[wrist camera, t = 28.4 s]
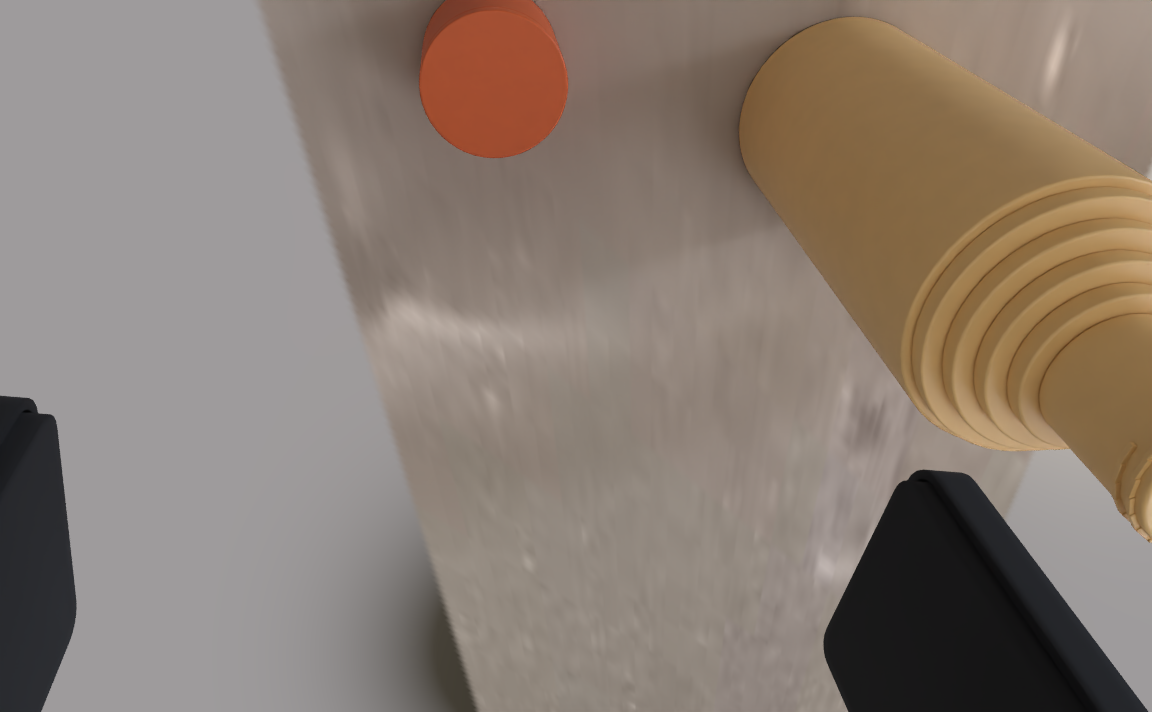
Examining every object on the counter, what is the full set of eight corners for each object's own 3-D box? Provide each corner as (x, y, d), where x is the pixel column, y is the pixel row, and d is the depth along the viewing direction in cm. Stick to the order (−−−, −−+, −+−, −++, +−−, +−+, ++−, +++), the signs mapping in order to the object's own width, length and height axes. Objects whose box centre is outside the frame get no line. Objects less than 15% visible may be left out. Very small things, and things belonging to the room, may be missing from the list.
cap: (575, 95, 29) (588, 130, 26) (455, 140, 29) (455, 181, 26) (529, -38, 26) (538, -14, 24) (400, 14, 27) (393, 43, 24)
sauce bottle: (703, 96, 29) (977, 463, 14) (887, -28, 28) (1418, 230, 12) (791, 244, 32) (1092, 675, 17) (960, 140, 31) (1453, 509, 16)
